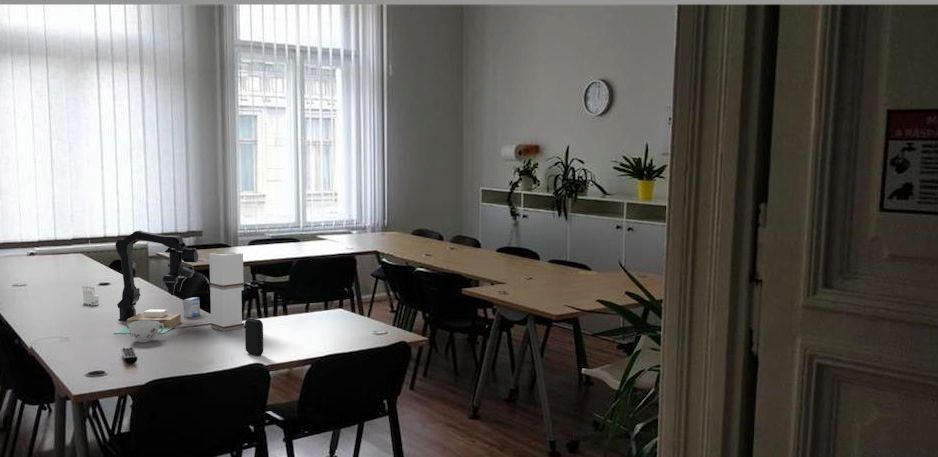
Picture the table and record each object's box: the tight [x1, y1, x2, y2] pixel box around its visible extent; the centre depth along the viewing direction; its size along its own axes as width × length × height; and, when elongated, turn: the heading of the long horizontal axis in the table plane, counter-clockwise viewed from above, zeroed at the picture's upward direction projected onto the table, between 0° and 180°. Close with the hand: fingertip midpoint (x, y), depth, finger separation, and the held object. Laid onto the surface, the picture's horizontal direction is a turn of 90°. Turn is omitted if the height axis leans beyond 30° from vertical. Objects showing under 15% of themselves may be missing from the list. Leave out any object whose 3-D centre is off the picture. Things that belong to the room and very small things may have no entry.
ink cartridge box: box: [82, 285, 100, 306], centre depth 426 cm, size 2×11×10 cm, turn 57°
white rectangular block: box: [143, 308, 169, 317], centre depth 376 cm, size 9×6×2 cm, turn 91°
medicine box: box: [182, 296, 201, 318], centre depth 397 cm, size 8×4×9 cm, turn 168°
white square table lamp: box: [209, 251, 245, 332], centre depth 369 cm, size 11×11×35 cm
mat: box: [113, 326, 173, 335], centre depth 362 cm, size 22×12×1 cm, turn 91°
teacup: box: [128, 320, 164, 343], centre depth 342 cm, size 15×12×8 cm
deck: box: [126, 313, 182, 329], centre depth 374 cm, size 20×14×4 cm
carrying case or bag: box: [243, 317, 264, 357], centre depth 319 cm, size 11×3×15 cm, turn 54°
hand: (175, 293), depth 385 cm, fingers open, 9 cm apart
